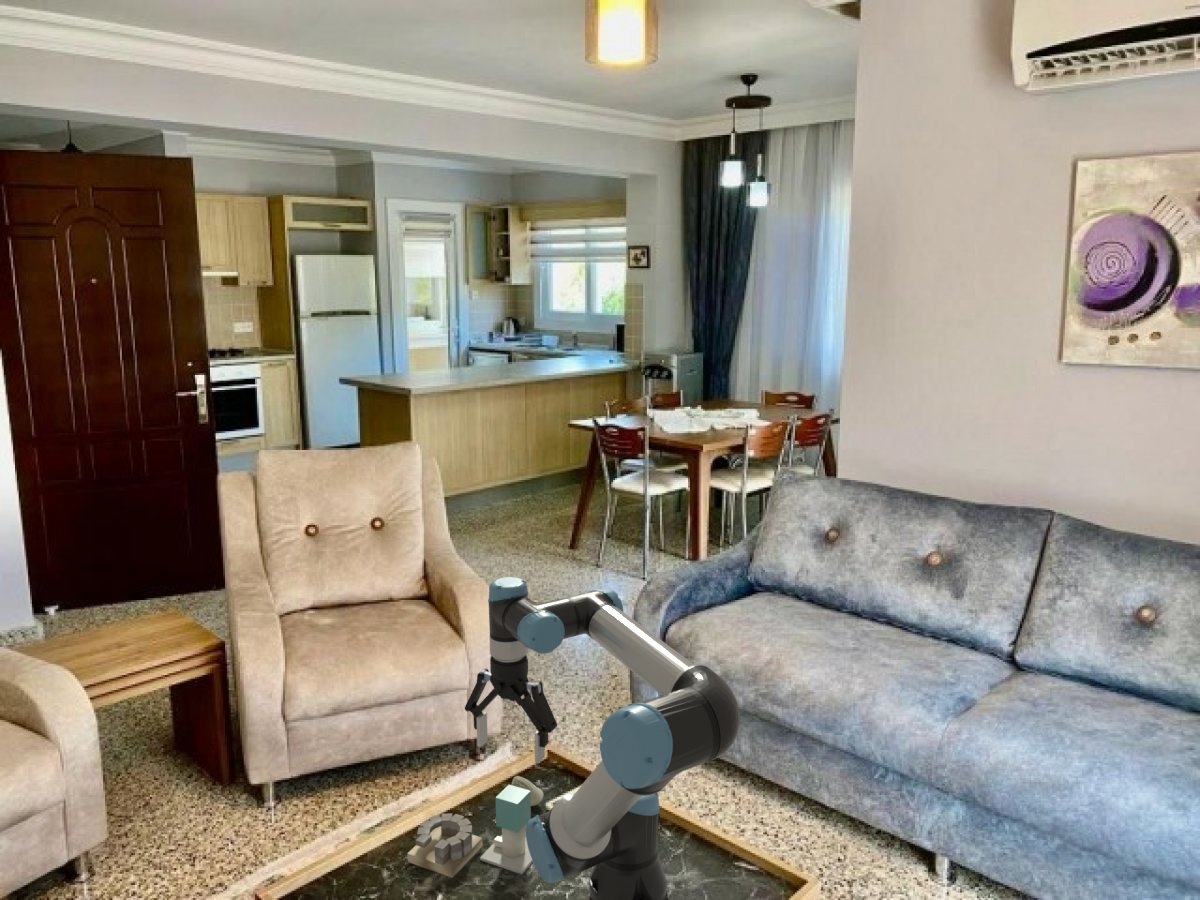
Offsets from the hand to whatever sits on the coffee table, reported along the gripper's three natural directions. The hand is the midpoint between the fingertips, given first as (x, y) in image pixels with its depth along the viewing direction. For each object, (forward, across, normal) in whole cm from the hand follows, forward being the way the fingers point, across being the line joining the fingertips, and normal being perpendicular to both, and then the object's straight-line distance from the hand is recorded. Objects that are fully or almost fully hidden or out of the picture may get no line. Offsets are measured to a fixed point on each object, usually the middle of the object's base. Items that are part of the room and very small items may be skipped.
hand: (510, 751), depth 186 cm
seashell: (+23, +6, -16) cm, 29 cm away
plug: (+22, 0, 0) cm, 22 cm away
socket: (+23, +12, +7) cm, 27 cm away
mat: (+23, 0, 0) cm, 23 cm away
